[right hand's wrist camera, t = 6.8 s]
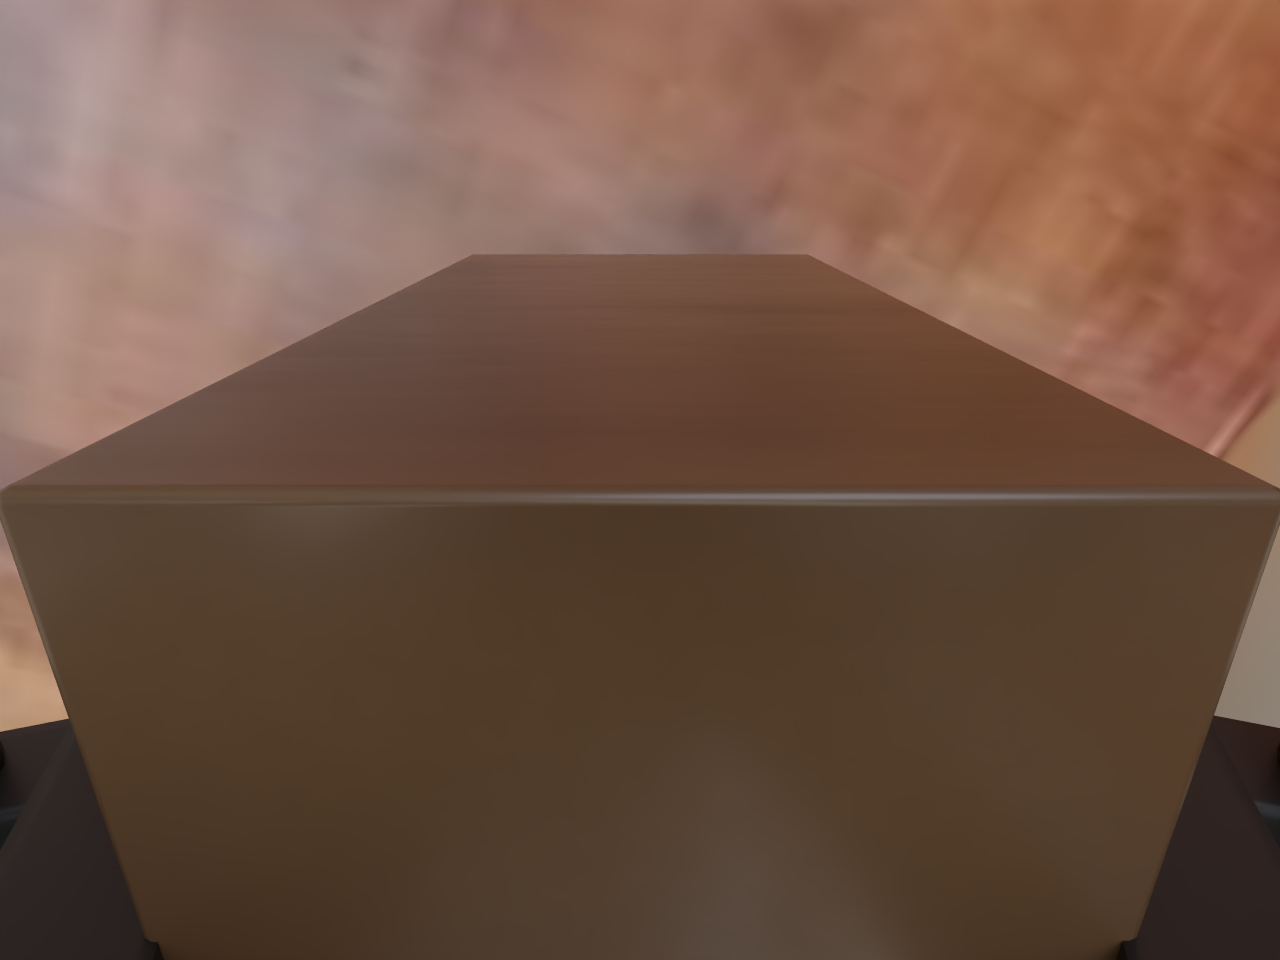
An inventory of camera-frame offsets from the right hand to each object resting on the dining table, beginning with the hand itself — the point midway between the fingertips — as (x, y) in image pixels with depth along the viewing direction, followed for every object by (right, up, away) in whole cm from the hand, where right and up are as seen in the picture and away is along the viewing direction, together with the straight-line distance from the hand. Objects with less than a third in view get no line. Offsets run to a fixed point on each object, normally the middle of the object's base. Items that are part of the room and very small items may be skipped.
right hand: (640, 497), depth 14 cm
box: (0, -6, +4) cm, 8 cm away
